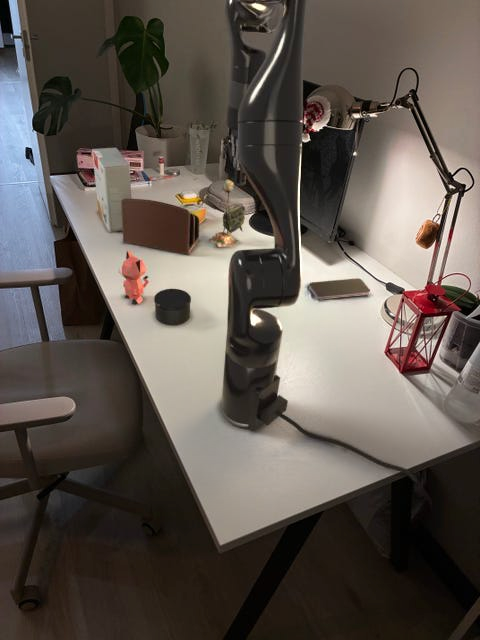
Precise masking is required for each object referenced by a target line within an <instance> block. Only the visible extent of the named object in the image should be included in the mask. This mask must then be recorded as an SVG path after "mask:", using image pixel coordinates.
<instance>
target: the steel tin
mask: <svg viewBox="0 0 480 640" xmlns="http://www.w3.org/2000/svg"><path fill="white" fill-rule="evenodd" d="M153 298H154V299H153V301H154V314H155V315H154V316H155V319H156V321H158V323H160V324H162V325H166V326H181V325H184V324H185V323H187V322H188V321H189V320H190V317H191V302H192V296H191V295H190V293H189V292H187V291H186V290H184V289H180V288H166V289H162V290H160V291H158V292H157V293H156V294H155V295H154V297H153Z"/></svg>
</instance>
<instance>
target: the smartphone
mask: <svg viewBox="0 0 480 640" xmlns="http://www.w3.org/2000/svg"><path fill="white" fill-rule="evenodd" d="M308 288H309V289H310V291H311V292H312V294H313V296H314V297H315V298H316V299H317V300H327V299H340V298H348V297H349V298H350V297H359V296H368V295H370V294H371V289H370V288H369V286H368V285H367V284H366V283H365V281H364V280H363V279H362V278H357V277H356V278H346V279H345V278H344V279H335V280H321V281H312V282H309V284H308Z"/></svg>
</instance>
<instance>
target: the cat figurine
mask: <svg viewBox="0 0 480 640" xmlns="http://www.w3.org/2000/svg"><path fill="white" fill-rule="evenodd" d="M117 269H118V273H119V274H121V276H122V277H123V278H124V279H125V280H124V281H123V288H124V293H125V295H124V298H125V299H128V300H131V299H132V300H131V305H133V306H137V305H140V304H141V303H142V302H143V300H144V298H143V296H142V295H143V294H144V288H146V287H147V285H148V284H149V283H150V281H149V280H148V278H149V276H148V275H145V273H146V272H147V267H146V265H145V263H144V261H143V260H142V259H140V258H139V257H136V256H134V255H133V254H132V253H131V252H130V251H129V250H128V249H126V253H125V260H124V261H123V262H122V265H121V271H120V268H119V267H118V268H117ZM144 275H145V276H144ZM141 277H143V278H142V280H143V281H144V283H143V281H142V280H141Z"/></svg>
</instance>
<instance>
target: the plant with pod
mask: <svg viewBox="0 0 480 640" xmlns="http://www.w3.org/2000/svg"><path fill="white" fill-rule="evenodd" d="M234 185H235V184H234V181H232V180H230V179H225V180H224V182H223V185H222V188H221V190H222V192H221V195H222V196H223V195H224V193H227V202H226V207H225V209H224V212H223V214H222V226H223V231H219V232H216V233H215V235H212V236H211V237H210V238H208V241H209V242H210V241H211V243H212V244H213V245H214V246H215V248H227V247H234V245H235V244H237V243H238V242H239V239H236V238H234V237H233V236H231V235H232V234H233V233H234V232H237V230H240V231H241V233H243V225H244V224H245V220H246V218H245V217H246V216H245V214H246V205H245V204H243V203H241V202H235V203H231V204H230V195H231V194H232V192H233V190H234ZM230 193H231V194H230ZM225 231H226V232H225Z"/></svg>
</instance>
